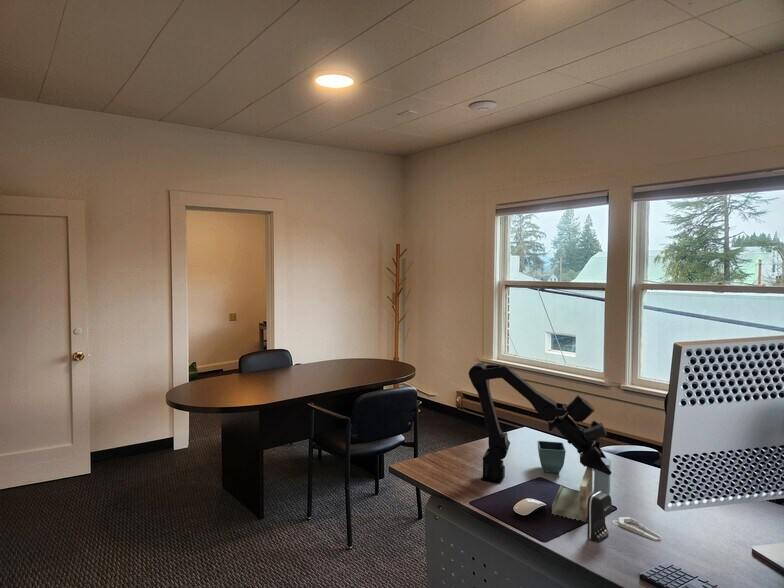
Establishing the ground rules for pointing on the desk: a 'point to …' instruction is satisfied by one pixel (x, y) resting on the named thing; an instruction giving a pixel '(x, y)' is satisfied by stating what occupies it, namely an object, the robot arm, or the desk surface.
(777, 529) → the desk surface
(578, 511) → the cream open holder
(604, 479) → the cabinet block
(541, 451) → the flower pot
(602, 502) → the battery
